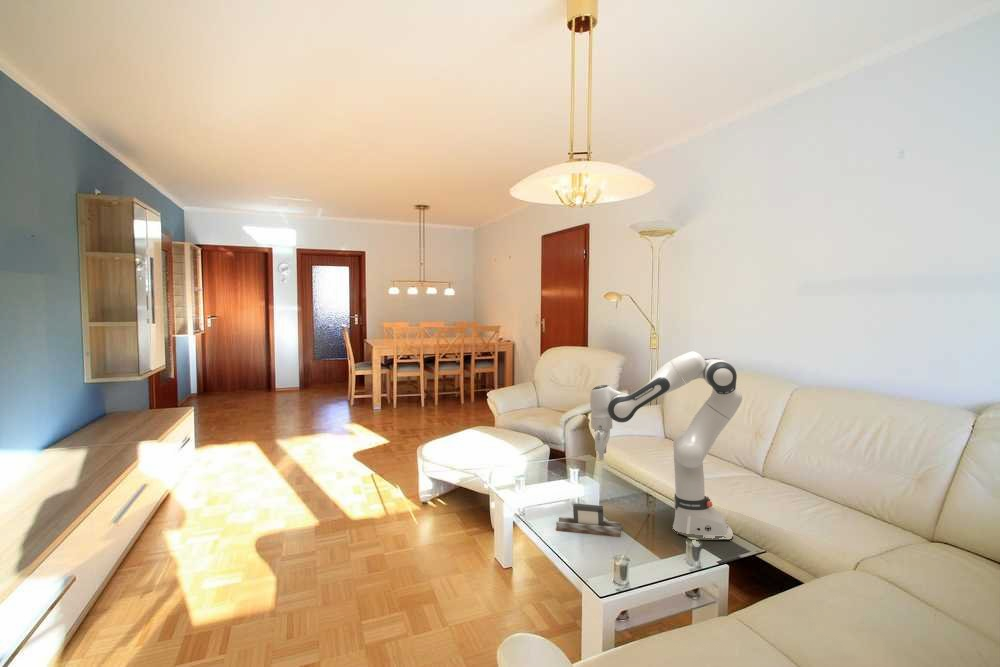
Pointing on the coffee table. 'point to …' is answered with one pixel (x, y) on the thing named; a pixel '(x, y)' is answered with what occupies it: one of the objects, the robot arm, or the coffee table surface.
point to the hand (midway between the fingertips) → (602, 456)
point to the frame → (588, 514)
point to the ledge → (589, 527)
